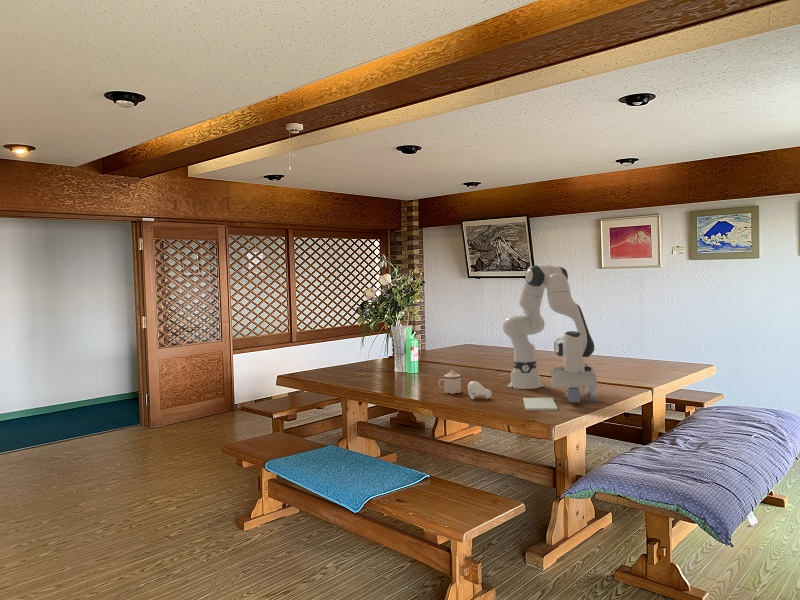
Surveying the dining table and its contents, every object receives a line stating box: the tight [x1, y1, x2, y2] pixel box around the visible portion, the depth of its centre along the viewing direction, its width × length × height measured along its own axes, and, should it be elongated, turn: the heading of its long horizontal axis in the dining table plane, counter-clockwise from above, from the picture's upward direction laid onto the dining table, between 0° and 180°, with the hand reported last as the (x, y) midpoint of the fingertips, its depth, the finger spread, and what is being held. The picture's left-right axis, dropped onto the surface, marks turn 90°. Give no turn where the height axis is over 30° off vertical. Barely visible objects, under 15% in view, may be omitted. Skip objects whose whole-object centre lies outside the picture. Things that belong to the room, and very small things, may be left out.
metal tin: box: [585, 385, 599, 403], centre depth 282 cm, size 5×5×7 cm
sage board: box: [522, 397, 558, 411], centre depth 279 cm, size 22×14×1 cm, turn 171°
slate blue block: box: [567, 387, 581, 403], centre depth 276 cm, size 4×4×6 cm
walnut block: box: [566, 390, 580, 404], centre depth 283 cm, size 5×5×5 cm
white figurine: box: [467, 380, 493, 400], centre depth 298 cm, size 6×8×12 cm
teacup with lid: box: [437, 370, 462, 395], centre depth 315 cm, size 12×9×12 cm
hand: (574, 396), depth 276 cm, fingers closed on slate blue block, 4 cm apart
